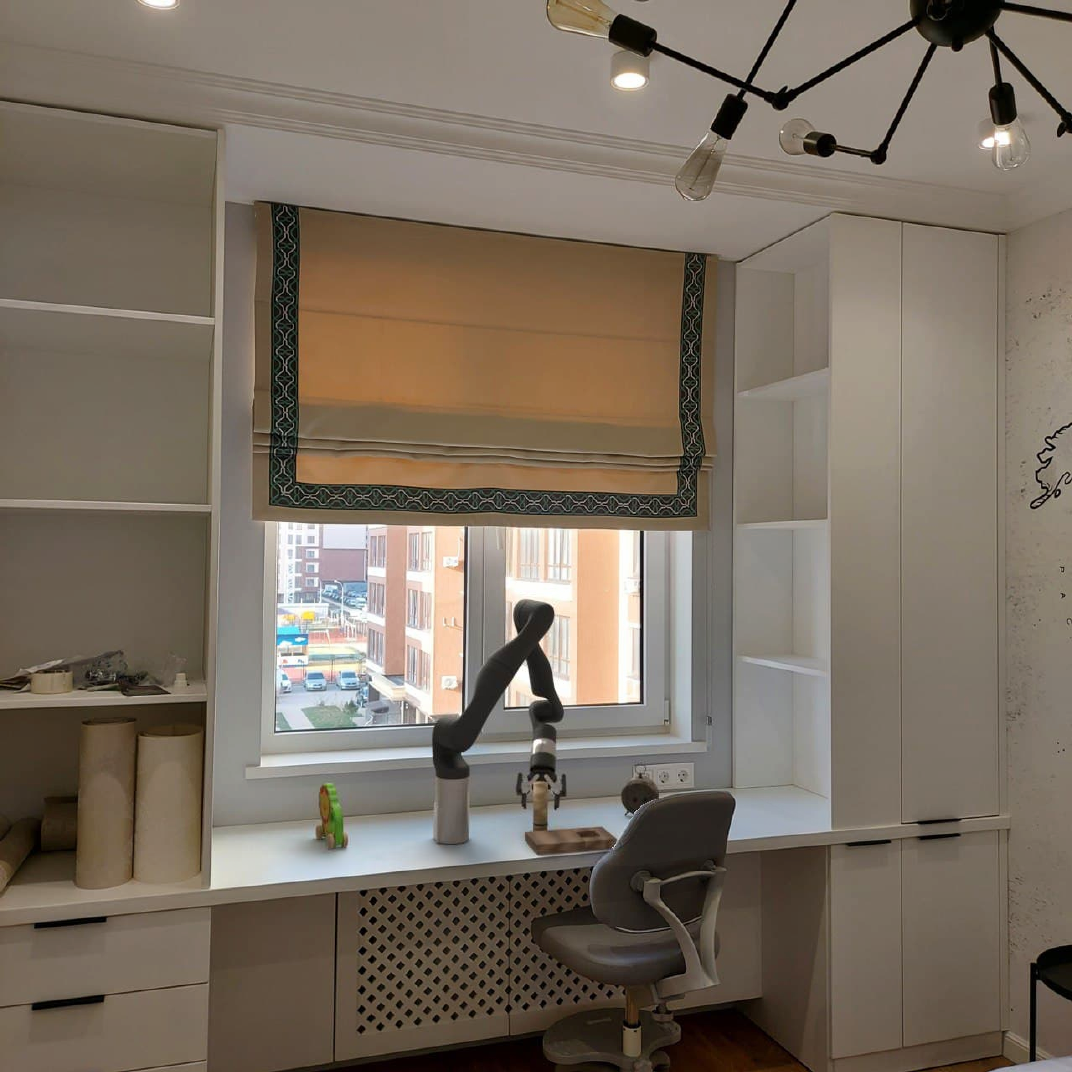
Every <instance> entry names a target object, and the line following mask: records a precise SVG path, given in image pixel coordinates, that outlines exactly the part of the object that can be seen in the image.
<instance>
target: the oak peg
mask: <svg viewBox="0 0 1072 1072" xmlns="http://www.w3.org/2000/svg"><path fill="white" fill-rule="evenodd" d="M548 792H549V791H548V783H547V782H544V781H537V782H534V788H533V791H532V793H533V794H532V795H533V797H532V798H533V799H532V800H533V802H532V803H533V804H532V805H533V806H532V807H533V809H532V812H533V813H532V817H533V818H532V831H544V830H548V826H549V825H548V823H549V822H548V817H549V816H548V814H549V813H548V810H549V808H548V804H549V803H548V798H549V793H548Z"/></svg>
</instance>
